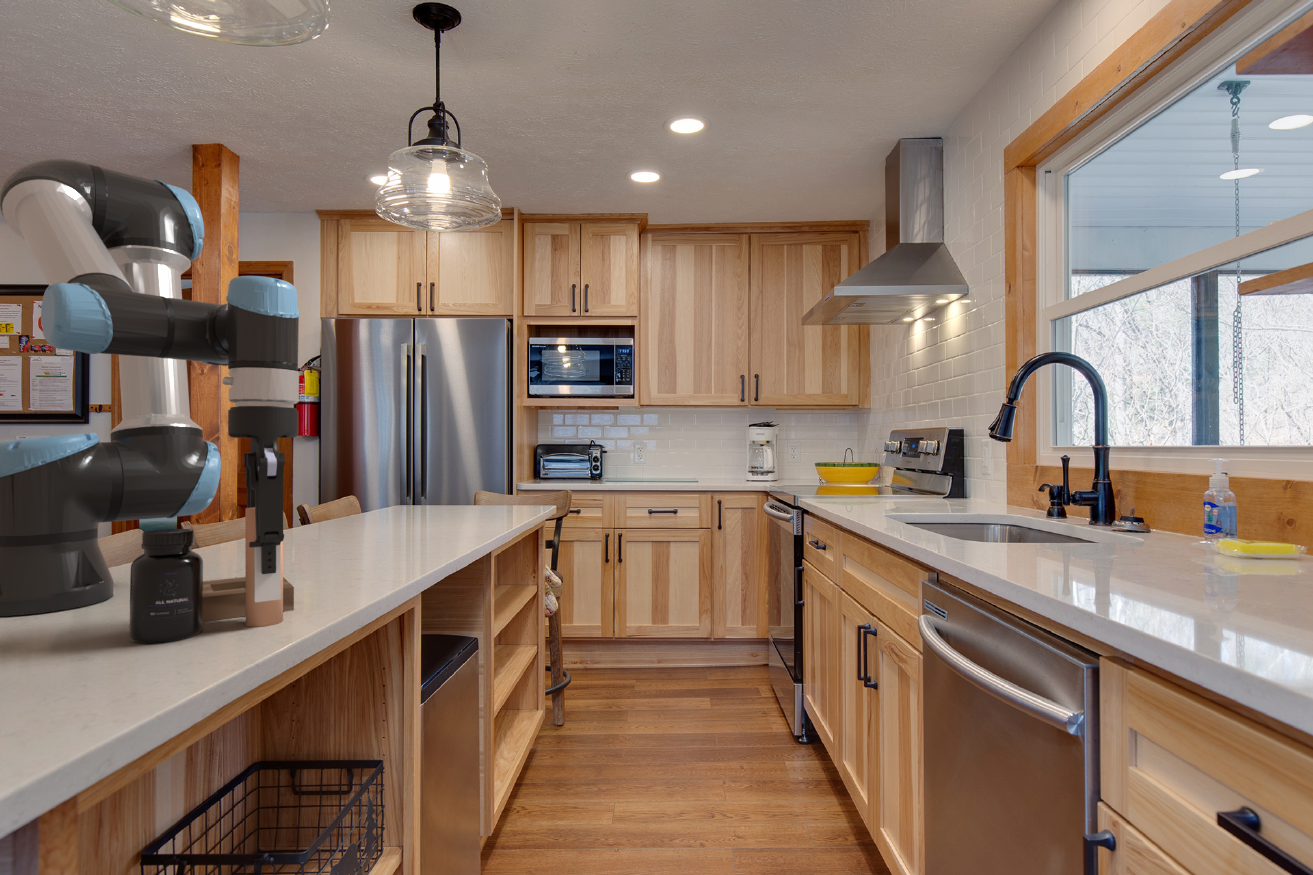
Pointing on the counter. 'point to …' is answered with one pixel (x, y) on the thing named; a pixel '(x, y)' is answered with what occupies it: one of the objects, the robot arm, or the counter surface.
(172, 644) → the counter surface
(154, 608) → the supplement bottle
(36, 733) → the counter surface
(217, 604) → the socket block
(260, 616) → the dowel
